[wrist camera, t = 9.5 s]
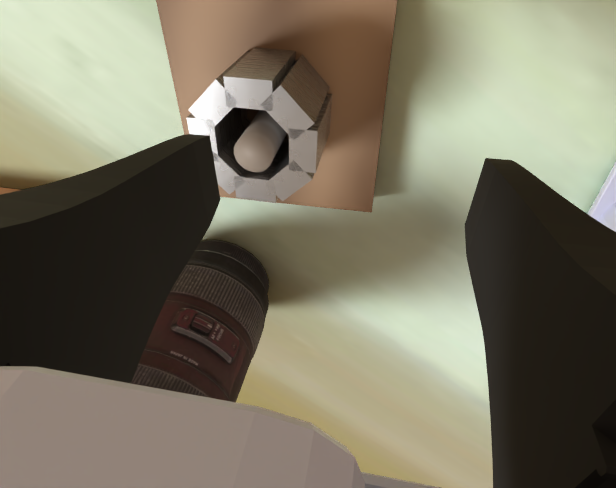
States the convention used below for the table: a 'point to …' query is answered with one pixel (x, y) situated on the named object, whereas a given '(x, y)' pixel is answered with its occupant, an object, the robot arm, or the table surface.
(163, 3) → the shaft stand
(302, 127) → the ring
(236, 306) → the camera lens
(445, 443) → the table surface
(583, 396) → the robot arm
